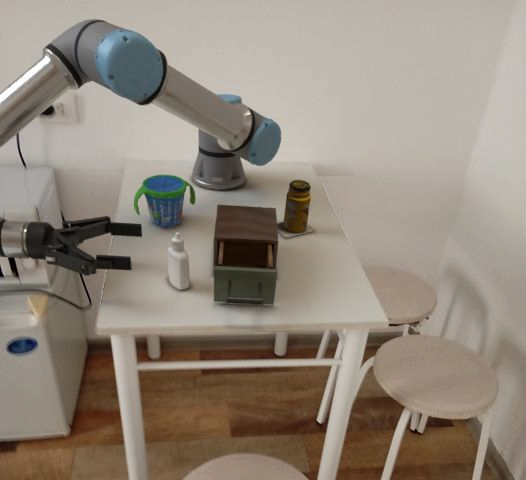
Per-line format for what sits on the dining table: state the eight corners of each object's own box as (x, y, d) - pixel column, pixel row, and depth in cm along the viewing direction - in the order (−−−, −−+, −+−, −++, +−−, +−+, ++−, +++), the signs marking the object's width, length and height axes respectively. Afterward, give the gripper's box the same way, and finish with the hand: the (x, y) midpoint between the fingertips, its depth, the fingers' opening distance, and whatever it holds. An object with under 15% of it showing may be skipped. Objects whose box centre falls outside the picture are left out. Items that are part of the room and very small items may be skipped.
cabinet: (274, 279, 124) (278, 240, 118) (213, 275, 123) (214, 236, 117) (272, 244, 136) (275, 207, 129) (216, 241, 135) (217, 204, 129)
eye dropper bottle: (168, 290, 117) (166, 239, 109) (168, 276, 121) (166, 226, 114) (189, 290, 118) (188, 240, 110) (189, 276, 122) (188, 226, 114)
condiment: (313, 231, 142) (319, 186, 135) (286, 238, 138) (291, 192, 131) (296, 219, 147) (301, 175, 139) (270, 226, 143) (274, 181, 135)
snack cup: (141, 235, 134) (138, 196, 128) (130, 216, 141) (126, 177, 135) (202, 226, 140) (202, 188, 133) (188, 208, 147) (188, 171, 141)
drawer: (274, 324, 109) (278, 291, 104) (211, 321, 109) (212, 288, 104) (271, 267, 126) (274, 236, 121) (216, 264, 125) (217, 233, 120)
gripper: (50, 227, 124) (146, 233, 126) (14, 290, 105) (127, 295, 106) (44, 196, 120) (144, 202, 121) (5, 255, 100) (124, 261, 102)
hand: (136, 246), depth 114 cm, fingers open, 13 cm apart
